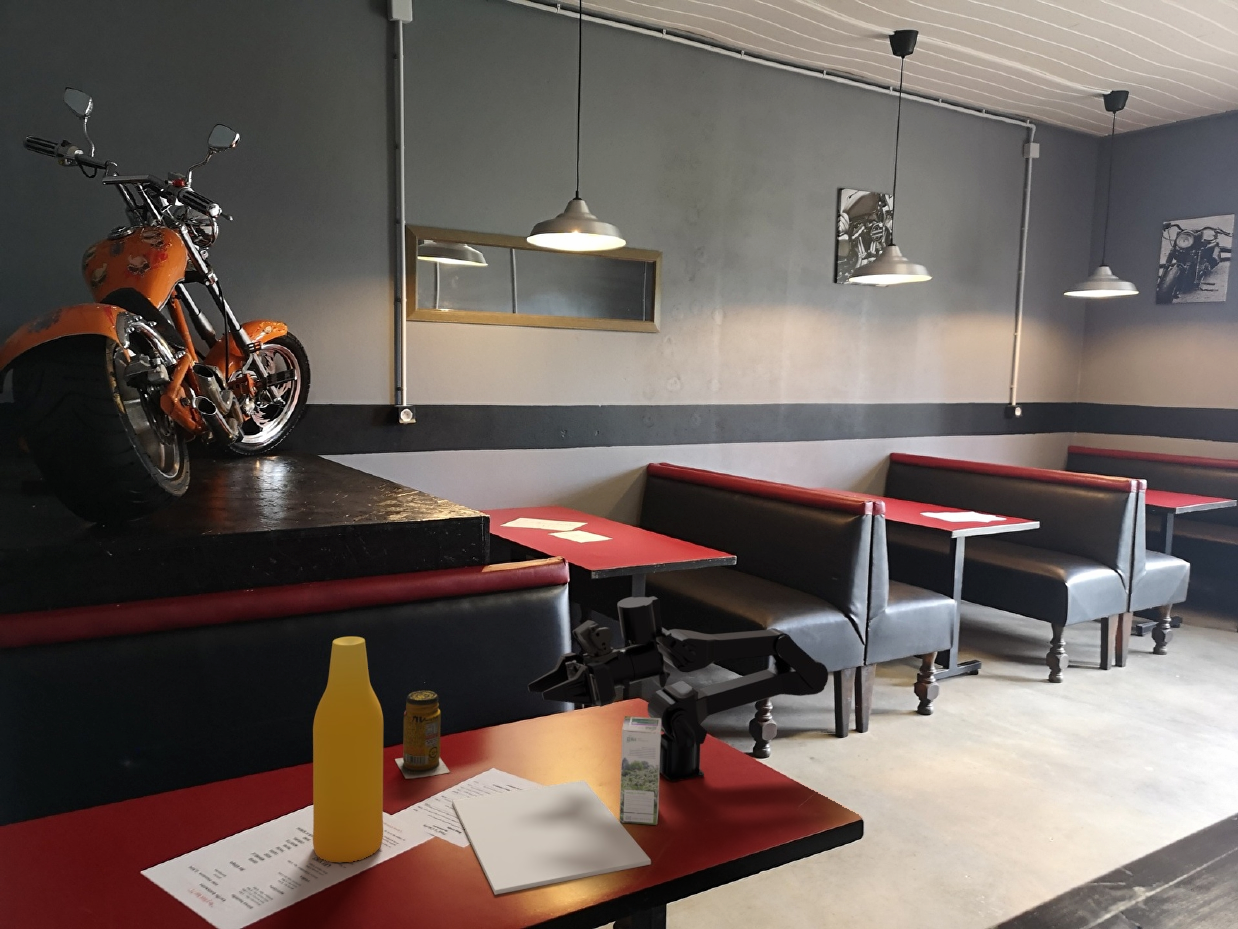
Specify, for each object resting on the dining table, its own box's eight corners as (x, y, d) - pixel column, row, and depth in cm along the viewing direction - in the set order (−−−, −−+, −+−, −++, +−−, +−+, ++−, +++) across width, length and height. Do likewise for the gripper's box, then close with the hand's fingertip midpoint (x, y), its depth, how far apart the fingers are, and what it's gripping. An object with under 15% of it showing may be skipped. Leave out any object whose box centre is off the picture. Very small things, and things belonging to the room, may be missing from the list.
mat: (584, 783, 144) (584, 780, 144) (650, 864, 120) (650, 860, 120) (452, 803, 135) (452, 800, 135) (494, 894, 112) (494, 890, 111)
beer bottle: (318, 871, 116) (318, 654, 113) (308, 838, 124) (307, 635, 122) (390, 856, 120) (391, 646, 118) (375, 825, 128) (376, 628, 126)
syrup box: (658, 808, 136) (661, 716, 135) (657, 827, 130) (660, 730, 129) (621, 805, 136) (624, 714, 135) (618, 824, 131) (621, 728, 129)
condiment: (437, 754, 154) (437, 686, 153) (450, 773, 146) (450, 702, 145) (394, 760, 151) (395, 691, 150) (405, 780, 143) (406, 708, 142)
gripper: (599, 613, 153) (511, 636, 147) (636, 620, 135) (539, 646, 130) (612, 677, 152) (525, 702, 147) (652, 692, 135) (555, 721, 130)
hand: (535, 692), depth 138 cm, fingers open, 9 cm apart
